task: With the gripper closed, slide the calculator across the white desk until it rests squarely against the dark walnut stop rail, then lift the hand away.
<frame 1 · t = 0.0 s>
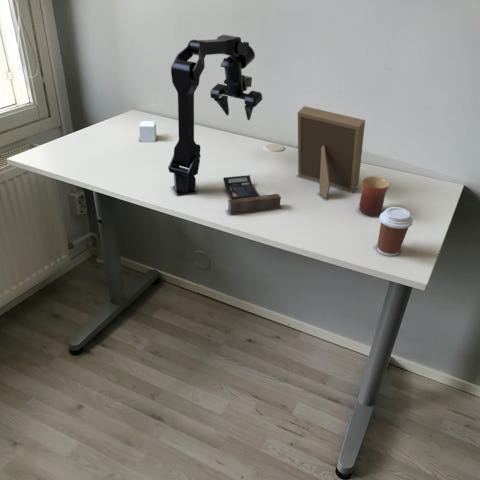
hand: (238, 117, 181), 15 cm above the table, tool pointing down, fingers open, 9 cm apart
calculator: (240, 191, 169), on the table
photo frame: (320, 187, 173), on the table
white cube: (148, 139, 204), on the table
coffee cup: (387, 250, 143), on the table
mug: (371, 210, 161), on the table
stop rail: (254, 209, 159), on the table
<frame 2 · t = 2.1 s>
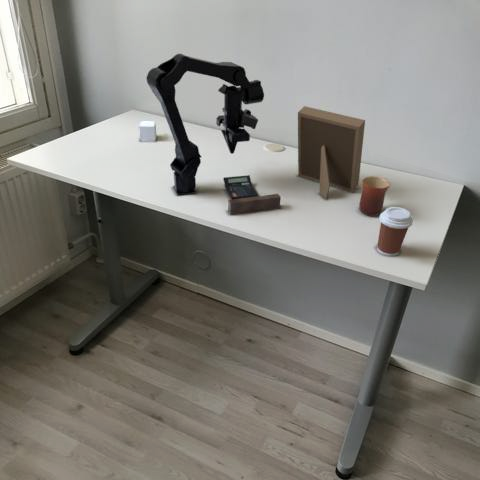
hand: (231, 153, 170), 10 cm above the table, tool pointing down, fingers closed
nothing on the table moved.
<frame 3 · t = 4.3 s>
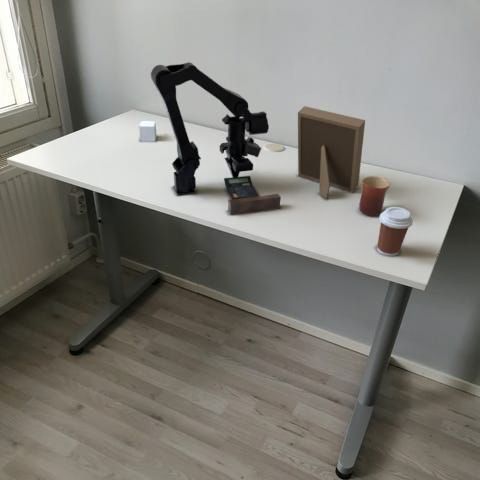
hand: (235, 179, 172), 1 cm above the table, tool pointing down, fingers closed
calculator: (241, 192, 169), on the table, touching gripper
everything else where it was.
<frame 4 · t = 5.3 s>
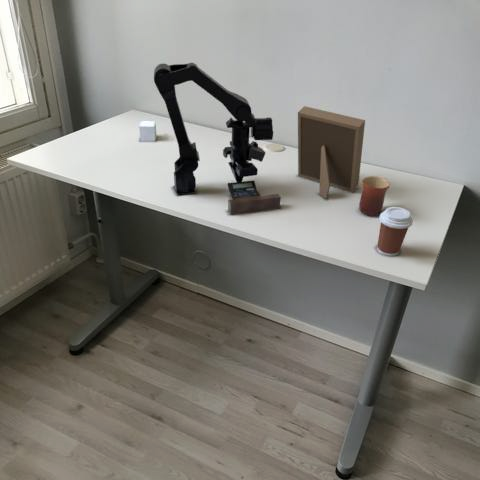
hand: (239, 184, 169), 1 cm above the table, tool pointing down, fingers closed
calculator: (245, 197, 166), on the table, touching gripper
everything else where it was.
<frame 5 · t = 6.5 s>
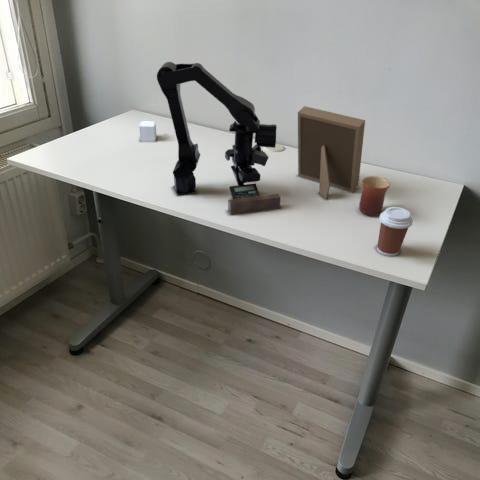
hand: (240, 188, 167), 1 cm above the table, tool pointing down, fingers closed, pressing on calculator
calculator: (247, 200, 164), on the table, touching gripper, stop rail
everything else where it was.
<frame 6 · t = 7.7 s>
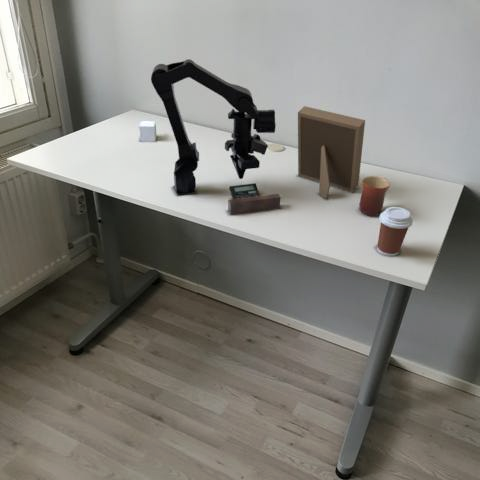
hand: (240, 178, 166), 4 cm above the table, tool pointing down, fingers closed
calculator: (247, 200, 164), on the table
everything else where it was.
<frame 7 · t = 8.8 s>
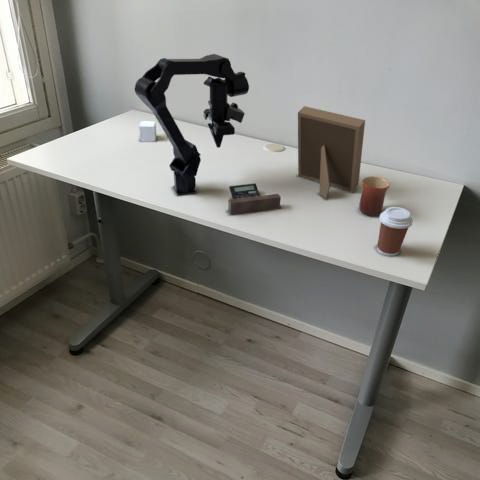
hand: (218, 147, 167), 12 cm above the table, tool pointing down, fingers closed
nothing on the table moved.
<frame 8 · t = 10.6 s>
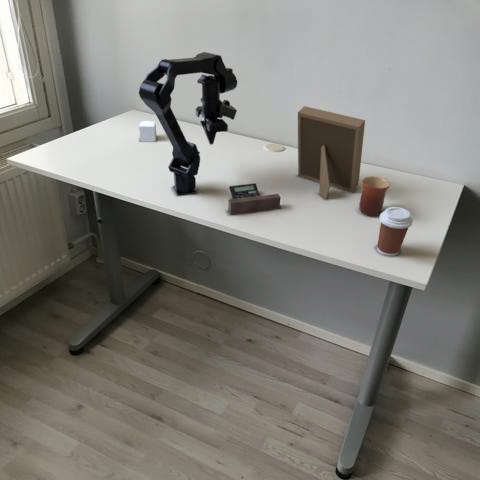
hand: (211, 144, 169), 12 cm above the table, tool pointing down, fingers closed
nothing on the table moved.
at the end: calculator inside the target area (1.4 cm from its centre), on the table; calculator moved 6.9 cm from its start; calculator tilted 0° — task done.
